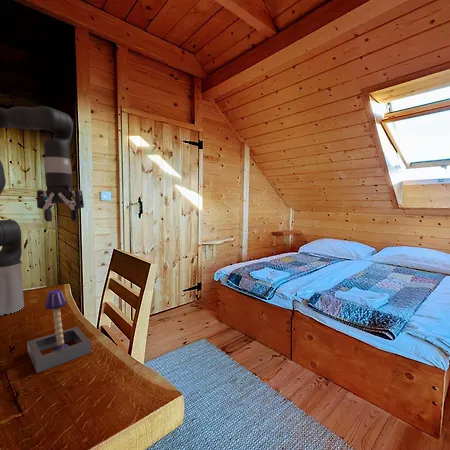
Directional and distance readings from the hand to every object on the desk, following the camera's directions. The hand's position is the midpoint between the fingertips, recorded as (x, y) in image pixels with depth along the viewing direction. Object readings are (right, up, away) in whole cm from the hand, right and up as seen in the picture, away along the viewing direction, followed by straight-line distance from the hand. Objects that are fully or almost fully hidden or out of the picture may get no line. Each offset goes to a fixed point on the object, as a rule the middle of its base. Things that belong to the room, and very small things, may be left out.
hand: (61, 221), depth 90 cm
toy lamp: (+11, -35, -19) cm, 41 cm away
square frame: (+11, -35, -19) cm, 41 cm away
